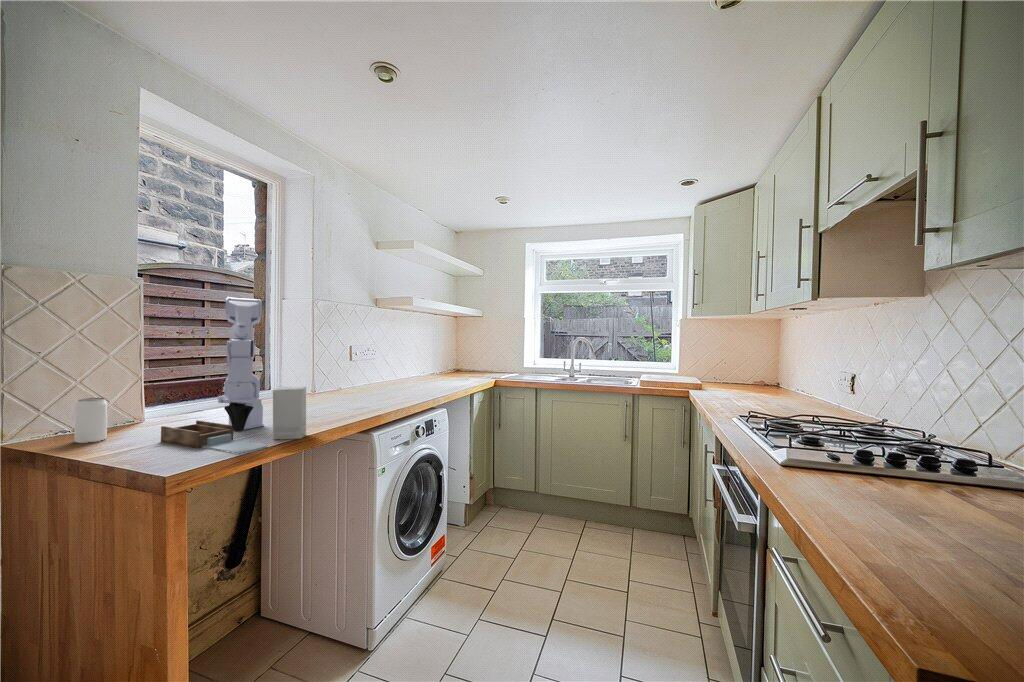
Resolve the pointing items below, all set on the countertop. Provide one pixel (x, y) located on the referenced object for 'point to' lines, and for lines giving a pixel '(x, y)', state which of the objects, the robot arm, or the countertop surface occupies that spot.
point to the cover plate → (231, 444)
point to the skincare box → (289, 412)
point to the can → (90, 420)
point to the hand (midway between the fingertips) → (238, 430)
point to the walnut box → (194, 433)
